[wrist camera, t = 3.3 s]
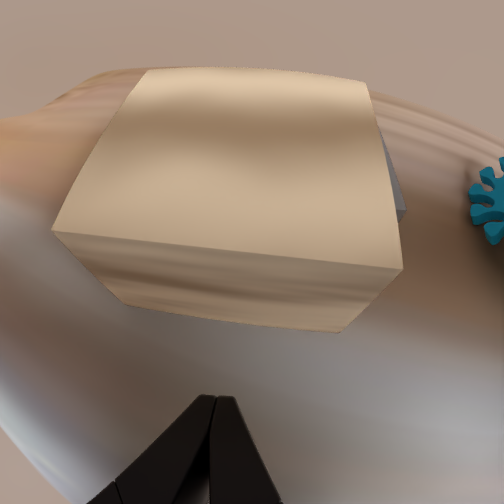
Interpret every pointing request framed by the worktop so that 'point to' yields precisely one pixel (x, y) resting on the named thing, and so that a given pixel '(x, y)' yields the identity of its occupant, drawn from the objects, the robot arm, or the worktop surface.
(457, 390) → the worktop surface
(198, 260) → the oak block
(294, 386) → the worktop surface
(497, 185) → the gear
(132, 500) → the robot arm
